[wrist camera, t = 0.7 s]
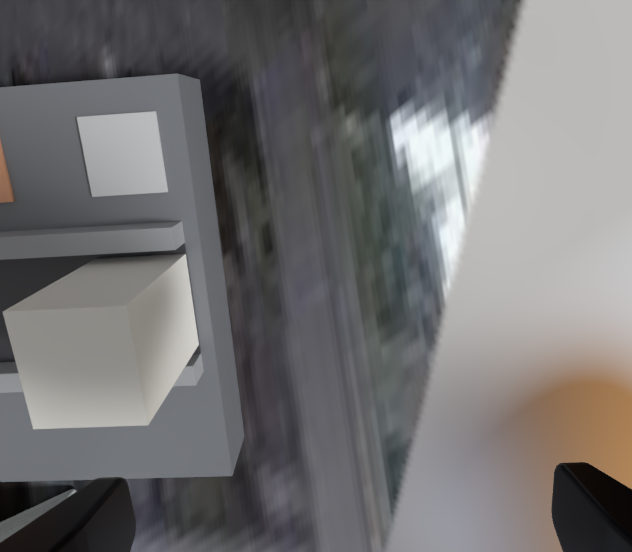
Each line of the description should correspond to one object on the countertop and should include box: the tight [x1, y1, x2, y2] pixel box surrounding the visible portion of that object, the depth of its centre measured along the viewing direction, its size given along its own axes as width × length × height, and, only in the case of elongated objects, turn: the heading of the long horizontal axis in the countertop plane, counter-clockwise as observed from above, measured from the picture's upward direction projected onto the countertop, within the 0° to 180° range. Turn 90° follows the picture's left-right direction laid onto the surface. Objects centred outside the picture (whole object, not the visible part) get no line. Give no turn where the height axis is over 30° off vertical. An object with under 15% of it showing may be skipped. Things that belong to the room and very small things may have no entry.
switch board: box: [0, 74, 244, 482], centre depth 18 cm, size 14×9×4 cm, turn 4°
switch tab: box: [3, 254, 199, 429], centre depth 15 cm, size 3×3×5 cm
